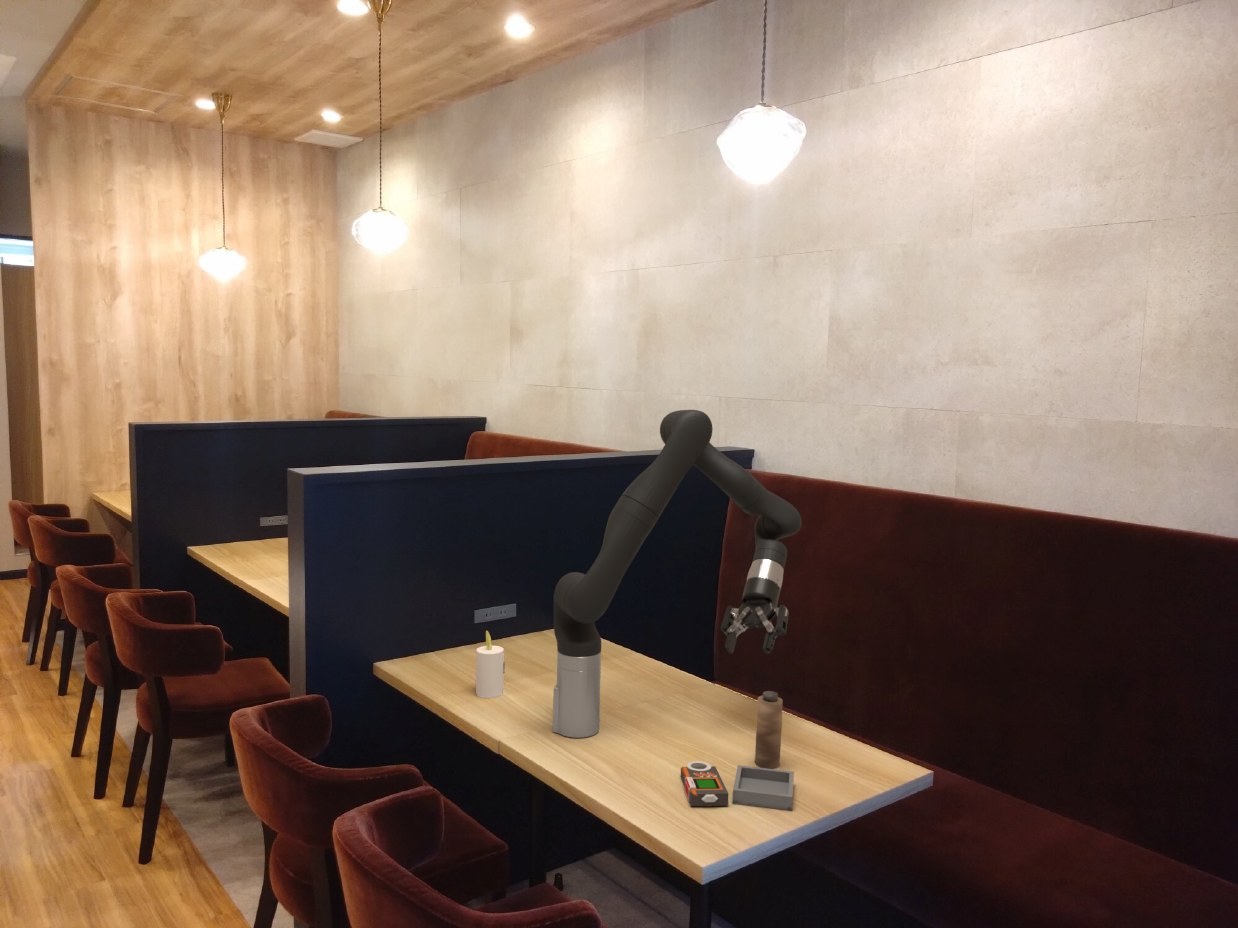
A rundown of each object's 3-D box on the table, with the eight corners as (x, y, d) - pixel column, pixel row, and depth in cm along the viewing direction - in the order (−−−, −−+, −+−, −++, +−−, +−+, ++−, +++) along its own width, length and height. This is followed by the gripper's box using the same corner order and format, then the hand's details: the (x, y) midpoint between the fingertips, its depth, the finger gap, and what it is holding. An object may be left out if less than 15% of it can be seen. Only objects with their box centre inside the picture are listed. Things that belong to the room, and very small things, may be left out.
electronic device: (712, 759, 174) (728, 791, 159) (712, 774, 174) (728, 808, 159) (678, 759, 173) (690, 792, 158) (677, 774, 173) (690, 808, 158)
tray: (732, 803, 161) (733, 789, 160) (737, 777, 171) (737, 764, 171) (792, 810, 159) (792, 796, 158) (793, 784, 169) (793, 771, 168)
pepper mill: (754, 767, 175) (757, 696, 174) (755, 757, 180) (758, 688, 179) (779, 770, 174) (782, 699, 173) (780, 759, 179) (783, 690, 178)
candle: (504, 697, 209) (505, 634, 207) (476, 698, 208) (476, 635, 206) (503, 688, 215) (504, 626, 213) (475, 688, 214) (476, 627, 212)
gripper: (727, 576, 198) (709, 642, 189) (786, 574, 190) (771, 642, 181) (741, 595, 203) (725, 660, 194) (800, 593, 194) (786, 661, 185)
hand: (747, 651), depth 187 cm, fingers open, 8 cm apart
